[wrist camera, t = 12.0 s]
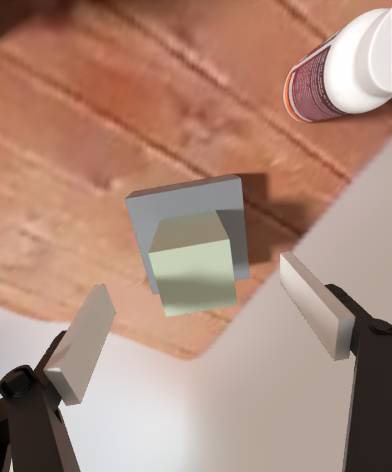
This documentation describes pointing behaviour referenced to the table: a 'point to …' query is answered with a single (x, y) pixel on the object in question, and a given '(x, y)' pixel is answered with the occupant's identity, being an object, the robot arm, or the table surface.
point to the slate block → (191, 202)
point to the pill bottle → (344, 72)
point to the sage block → (193, 264)
